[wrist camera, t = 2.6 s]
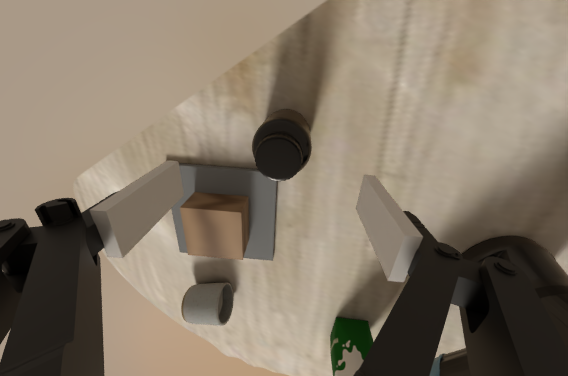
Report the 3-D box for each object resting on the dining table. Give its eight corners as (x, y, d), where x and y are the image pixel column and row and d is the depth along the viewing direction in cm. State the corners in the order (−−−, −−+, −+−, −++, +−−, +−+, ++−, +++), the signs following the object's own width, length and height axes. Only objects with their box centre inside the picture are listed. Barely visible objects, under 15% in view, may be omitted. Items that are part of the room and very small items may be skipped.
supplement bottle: (278, 98, 30) (266, 108, 20) (318, 125, 32) (328, 149, 21) (254, 140, 33) (233, 168, 22) (292, 163, 35) (289, 201, 24)
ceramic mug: (190, 276, 47) (172, 311, 40) (227, 274, 46) (214, 308, 39) (206, 308, 52) (192, 344, 45) (240, 307, 51) (231, 343, 44)
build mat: (277, 170, 35) (276, 173, 34) (273, 256, 43) (272, 260, 42) (166, 162, 36) (162, 164, 35) (182, 248, 44) (179, 252, 43)
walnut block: (248, 196, 36) (241, 212, 32) (249, 239, 40) (242, 259, 36) (194, 191, 37) (179, 207, 32) (200, 235, 41) (188, 254, 36)
